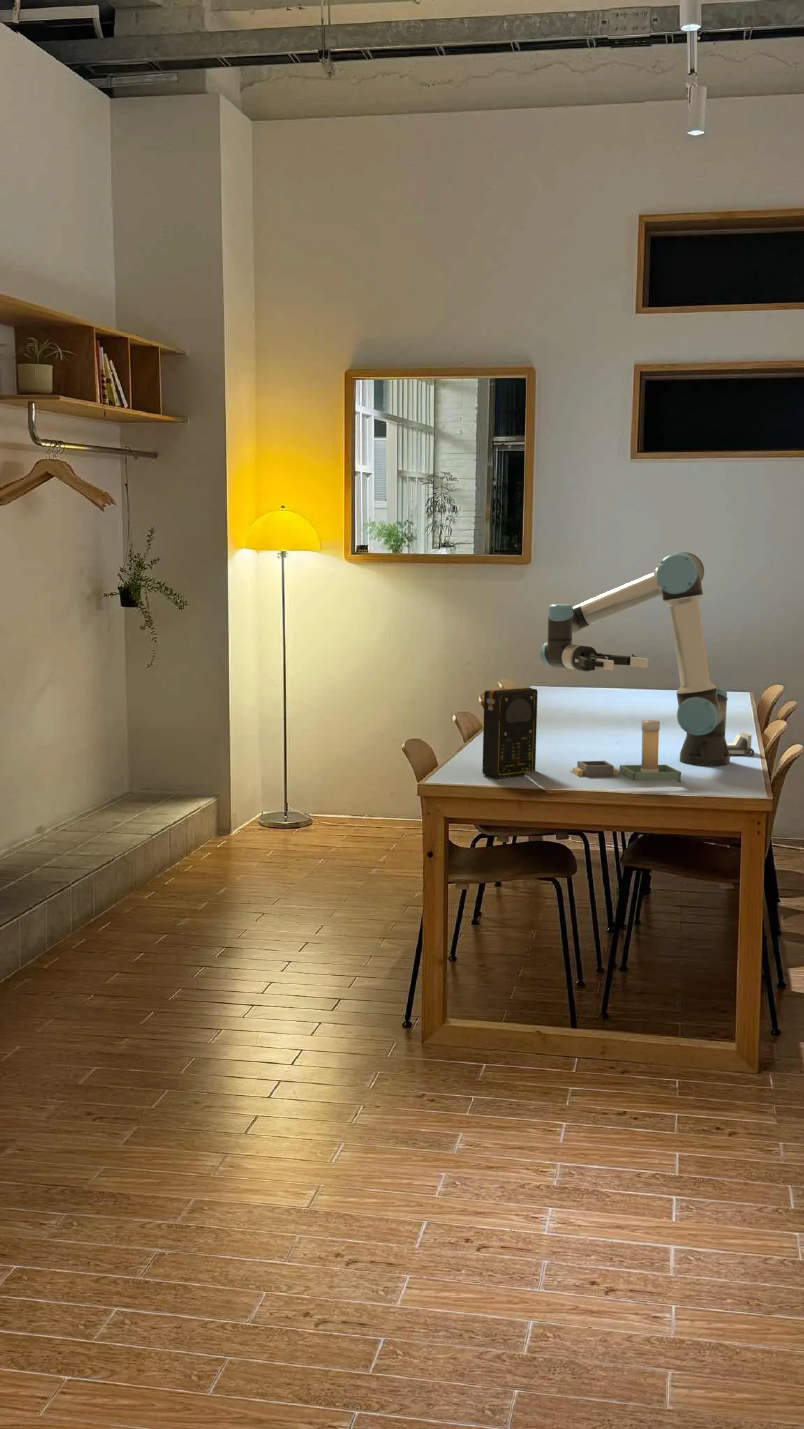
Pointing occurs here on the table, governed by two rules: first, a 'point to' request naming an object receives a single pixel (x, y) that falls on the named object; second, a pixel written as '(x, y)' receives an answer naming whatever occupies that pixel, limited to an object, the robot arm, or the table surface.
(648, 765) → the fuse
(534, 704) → the voltmeter
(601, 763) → the fuse holder
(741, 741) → the phone holder
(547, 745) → the table surface
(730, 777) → the table surface
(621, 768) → the tray
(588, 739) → the table surface
